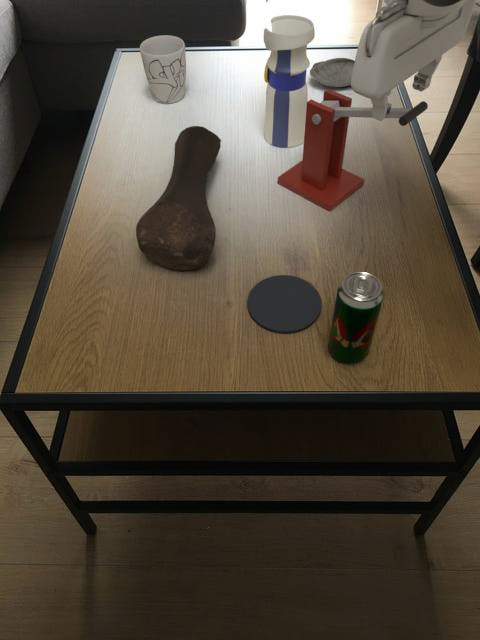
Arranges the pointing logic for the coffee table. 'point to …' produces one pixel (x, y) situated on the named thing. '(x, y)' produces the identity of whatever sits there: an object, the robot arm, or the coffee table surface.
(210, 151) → the dark brown bone
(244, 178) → the coffee table surface
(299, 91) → the water bottle
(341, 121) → the bracket
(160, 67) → the mug
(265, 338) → the coffee table surface
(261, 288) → the coaster
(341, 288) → the soda can
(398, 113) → the lever
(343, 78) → the seashell
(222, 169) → the coffee table surface
